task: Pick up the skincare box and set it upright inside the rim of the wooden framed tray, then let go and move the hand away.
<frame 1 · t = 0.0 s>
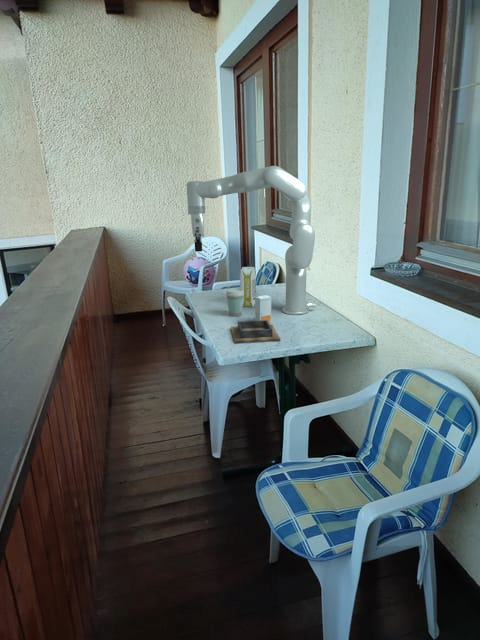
hand: (198, 249, 198), 31 cm above the table, tool pointing down, fingers open, 9 cm apart
coffee cup: (235, 315, 208), on the table
wooden framed tray: (254, 334, 181), on the table
juice carton: (248, 305, 224), on the table
skincare box: (263, 323, 196), on the table
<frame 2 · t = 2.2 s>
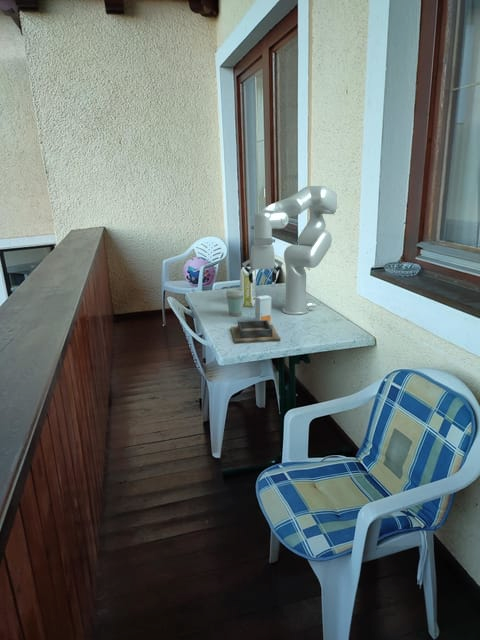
hand: (262, 282, 190), 19 cm above the table, tool pointing down, fingers open, 9 cm apart
nothing on the table moved.
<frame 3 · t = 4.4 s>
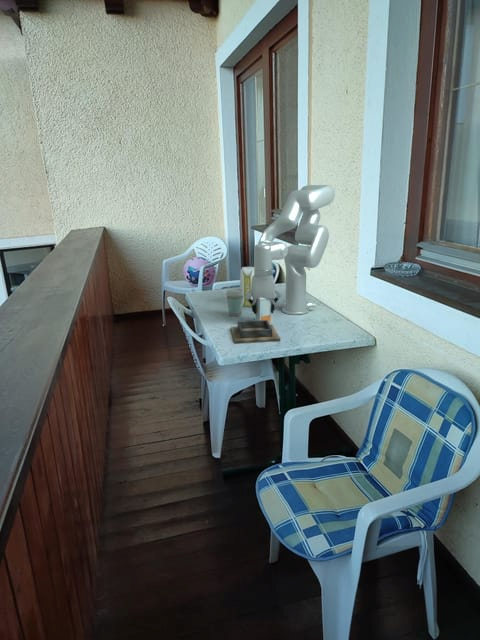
hand: (263, 312, 194), 5 cm above the table, tool pointing down, fingers closed on skincare box, 7 cm apart
skincare box: (263, 323, 196), on the table, touching gripper
everything else where it was.
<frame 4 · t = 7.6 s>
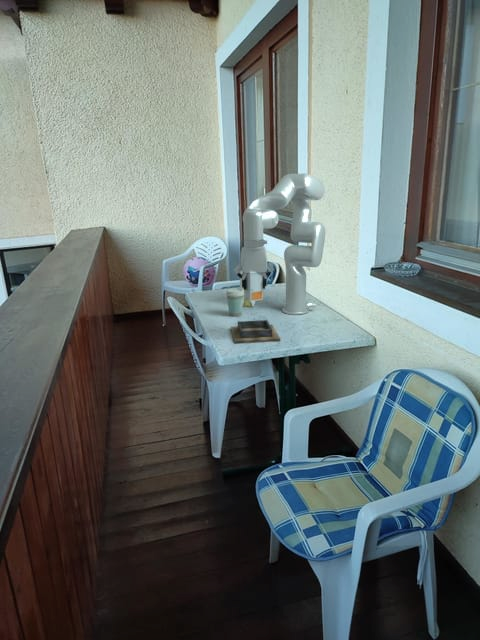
hand: (254, 288, 175), 20 cm above the table, tool pointing down, fingers closed on skincare box, 7 cm apart
skincare box: (254, 300, 177), point 15 cm above the table, touching gripper
everything else where it was.
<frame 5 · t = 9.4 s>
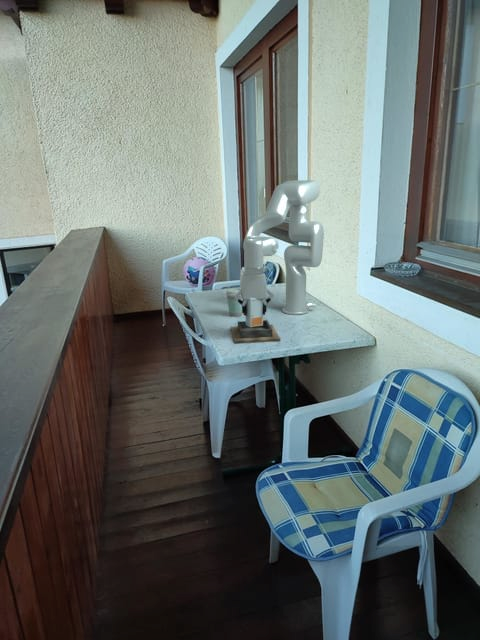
hand: (254, 314, 178), 9 cm above the table, tool pointing down, fingers closed on skincare box, 7 cm apart
skincare box: (254, 325, 180), point 4 cm above the table, touching gripper
everything else where it was.
when the fingers open (6 cm above the table, at t = 11.0 s): skincare box stays where it is, resting on wooden framed tray.
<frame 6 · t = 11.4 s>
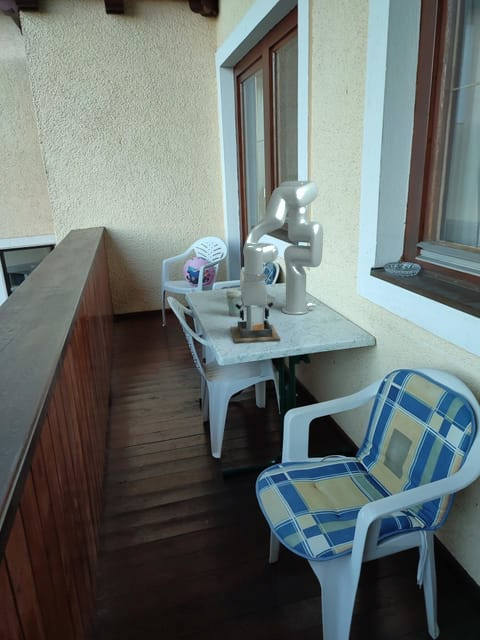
hand: (254, 318, 179), 7 cm above the table, tool pointing down, fingers open, 9 cm apart
skincare box: (255, 332, 181), point 1 cm above the table, touching wooden framed tray
everything else where it was.
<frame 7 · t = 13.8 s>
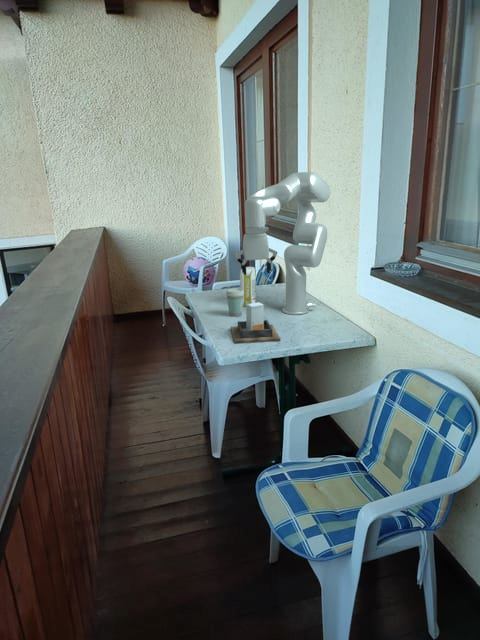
hand: (256, 273, 179), 24 cm above the table, tool pointing down, fingers open, 9 cm apart
nothing on the table moved.
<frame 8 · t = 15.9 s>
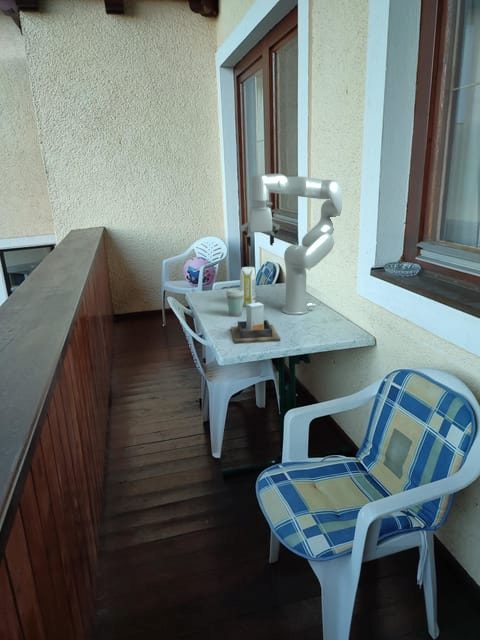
hand: (260, 245, 192), 33 cm above the table, tool pointing down, fingers open, 9 cm apart
nothing on the table moved.
at the end: skincare box 0.3 cm off-centre on the wooden framed tray, point 0.8 cm above the wooden framed tray's base; skincare box tilted 0°; the gripper is holding nothing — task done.
